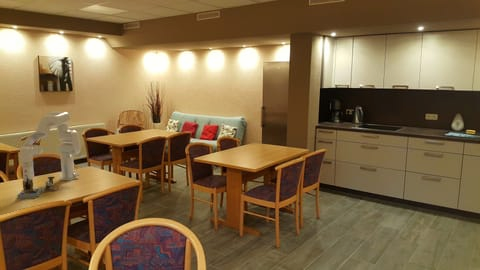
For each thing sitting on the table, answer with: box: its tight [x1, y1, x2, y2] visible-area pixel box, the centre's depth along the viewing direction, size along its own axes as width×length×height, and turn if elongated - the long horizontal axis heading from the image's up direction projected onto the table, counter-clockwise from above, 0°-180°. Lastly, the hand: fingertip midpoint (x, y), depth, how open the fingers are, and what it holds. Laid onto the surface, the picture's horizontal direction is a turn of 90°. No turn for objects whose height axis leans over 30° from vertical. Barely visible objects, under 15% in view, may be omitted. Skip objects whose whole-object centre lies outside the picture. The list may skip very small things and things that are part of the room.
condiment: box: [22, 179, 37, 194], centre depth 256 cm, size 7×8×12 cm
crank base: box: [39, 186, 59, 193], centre depth 268 cm, size 20×6×3 cm, turn 106°
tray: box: [17, 188, 43, 200], centre depth 257 cm, size 13×12×3 cm
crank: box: [45, 176, 56, 188], centre depth 274 cm, size 13×5×6 cm, turn 16°
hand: (29, 187), depth 256 cm, fingers closed on condiment, 6 cm apart
